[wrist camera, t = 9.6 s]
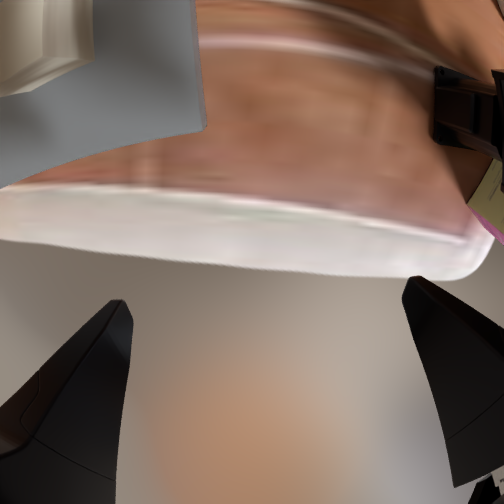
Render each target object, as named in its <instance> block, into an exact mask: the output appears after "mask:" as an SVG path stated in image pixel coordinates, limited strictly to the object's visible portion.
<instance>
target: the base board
mask: <svg viewBox="0 0 504 504" xmlns="http://www.w3.org/2000/svg"><path fill="white" fill-rule="evenodd" d="M2 1H3V0H0V3H1V2H2ZM93 40H94V55H95V61H93V62H90V63H88V64H85V65H83V66H81V67H78V68H76V69H74V70H72V71H69V72H67V73H65V74H63V75H61V76H59V77H57V78H55V79H53V80H51V81H49V82H47V83H45V84H43V85H41V86H39V87H38V88H36V89H34V90H32V91H30V92H24V93H18V94H13V95H8V96H4V97H0V189H1V188H3V187H6V186H8V185H10V184H12V183H15V182H17V181H19V180H22V179H24V178H27V177H29V176H32V175H34V174H37V173H39V172H42V171H45V170H47V169H50V168H53V167H56V166H59V165H62V164H64V163H67V162H71V161H74V160H77V159H80V158H83V157H87V156H90V155H93V154H97V153H100V152H104V151H108V150H112V149H115V148H119V147H123V146H128V145H132V144H136V143H141V142H145V141H150V140H155V139H160V138H165V137H171V136H176V135H182V134H188V133H195V132H202V131H203V130H204V129H205V127H206V126H207V120H206V111H205V102H204V93H203V84H202V74H201V64H200V54H199V43H198V32H197V20H196V7H195V0H93Z"/></svg>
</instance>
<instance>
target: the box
mask: <svg viewBox="0 0 504 504" xmlns="http://www.w3.org/2000/svg"><path fill="white" fill-rule="evenodd" d="M501 182H502V162H500V161H498V160H496V159H493V161H492V163H491V165H490V167H489V169H488V170H487V172H486V174H485V176H484V178H483V179H482V181H481V183H480V185H479V186H478V188H477V190H476V191H475V193H474V194H473V196H472V198H471V199H470V200H469V202H468V203H467V206H468V207H469V208H470V209H471V211H472V212H473V213H474V214H475V216H476V217H477V218H478V220H479V221H480V222H481V224H482V225H483V227H484V228H485V229H486V230H488V231H489V232H490V233H491V234H492V235H493V236H494V237H495V238H497V239H498V240H499V241H500V242H501V243H502V244H503V245H504V194H503V193H502V192H501V190H500V187H501Z"/></svg>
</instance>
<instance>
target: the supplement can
mask: <svg viewBox="0 0 504 504" xmlns="http://www.w3.org/2000/svg"><path fill="white" fill-rule="evenodd" d="M497 1H498V4H499V7H500V9H501V12H502V14H503V16H504V0H497Z"/></svg>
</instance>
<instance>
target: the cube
mask: <svg viewBox="0 0 504 504" xmlns="http://www.w3.org/2000/svg"><path fill="white" fill-rule="evenodd" d="M93 61H95V55H94V40H93V0H3V1H2V2H1V3H0V97H4V96H8V95H13V94H18V93H24V92H30V91H32V90H34V89H36V88H38V87H39V86H41V85H43V84H45V83H47V82H49V81H51V80H53V79H55V78H57V77H59V76H61V75H63V74H65V73H67V72H69V71H72V70H74V69H76V68H78V67H81V66H83V65H85V64H88V63H90V62H93Z"/></svg>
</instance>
